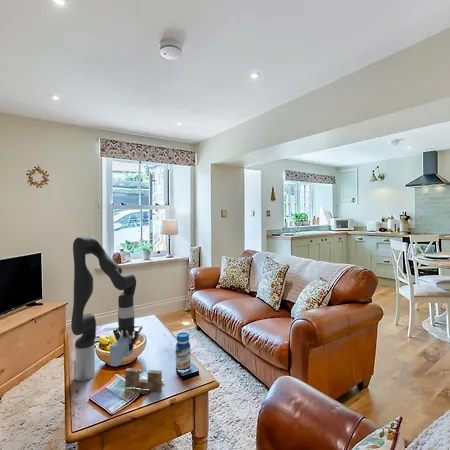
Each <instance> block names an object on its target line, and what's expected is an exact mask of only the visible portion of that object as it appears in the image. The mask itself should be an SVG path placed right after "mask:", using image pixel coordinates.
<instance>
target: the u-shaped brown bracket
mask: <svg viewBox="0 0 450 450" xmlns="http://www.w3.org/2000/svg"><path fill="white" fill-rule="evenodd" d="M162 371H163V370H154V369H149V370H148V371H147V379H145V378H144V379H143V378H140V368H132V367H130V368H129V367H127V368H126V369H125V370H124V383H125V385H124V386H125V387H135V388H141V389H149V390H150V391H149V392H157V393H161V391H162V389H163V384H162V383H163V381H162V380H163V375H162ZM125 387H124V388H125Z"/></svg>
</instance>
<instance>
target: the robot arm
mask: <svg viewBox="0 0 450 450" xmlns="http://www.w3.org/2000/svg"><path fill="white" fill-rule="evenodd" d="M72 254H73V255H72V256H73V270H74V271H73V272H74V273H73V302H72V303H73V304H72V305H73V307H72V313H71V324H70V326H71V331H72V334H73V335H74V336H80V335H81V336H80V337H78V338H77V339H76V340H75V343H74V344H75V346H74V347H75V351H74V352H75V354H74V356H75V360H74V361H73V379H74V380H75V381H77V382H80V383H81V382H87V381H90V380H92V379H93V378H94V377H95V375H96V364H95V363H96V361H95V360H96V359H95V358H96V356H95V353H96V352H95V340H96V337H97V335H96V334H97V333H96V332H97V321H96V317H95V315H94V314H93V313H86V314H84V312H85V308H86V305H87V303H88V302H89V300H90V298H91V296H92V294H93V291H94V277H93V275H92V273H91V271H90V270H89V268H88V267H87V262H86V255H90V254H91V255H93V256H95V257H96V258H97V260H98V265H99V267H100V269H101V271H103V272H104V273H105V275H107V276H108V277H109V279H110V281H111V283H112V285H113V287H114V288H115V289H116V290H117V291H123V292H122V293H120V294H119V296H118V299H117V300H118V301H117V302H118V303H117V305H118V310H117V317H118V318H117V320H118V322H117V325H118V327H116V328H115V329H113V330H112V333H113V335H114V338H115V342H116V341H117V340H119V339H120V338H121V337H123V336H127V338H128V339H129V351H132V349H133V350H134V344H135V342H137V341H138V339H139V335H140V333H141V329H136V326H135V307H134V305H135V304H134V296H135V291H136V287H137V279H136V276H135V275H134V274H133V273H126V274H123V275H122V272H123V269H122V267H121V266H120V265H119V264H118V263H117V262H116V261H114V259H113V258H112V257H110V256H109V254H108V253H107V251H106V249H104V247H103V246H102V244H101V243H100V242H99V241H98V239H96V238H95V237H94V236H79V237H76V238H75V239H74V241H73V243H72Z"/></svg>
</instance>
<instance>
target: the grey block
mask: <svg viewBox="0 0 450 450" xmlns="http://www.w3.org/2000/svg"><path fill="white" fill-rule="evenodd" d="M133 353H134V348H133V349H132V351H129V339H128V338H127V336H123V337H121V338H120V339H119V340H117V341H116V340H115V342H113V343H112V344H110V345H109V365H110V366H111V367H118V366H119V365H121V364H122V363H123V362H124V358H129V356H131V355H132V354H133Z"/></svg>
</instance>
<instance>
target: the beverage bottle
mask: <svg viewBox="0 0 450 450" xmlns="http://www.w3.org/2000/svg"><path fill="white" fill-rule="evenodd" d="M189 341H190V334H189V333H188V332H186V331H185V332H184V331H183V332H178V333H177V334H176V342H177V343H176V344H175V371H177V370H186V369H189V368H190V366H192V365H191V359H192V358H191V357H192V356H191V352H192V351H191V343H190V342H189Z"/></svg>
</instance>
